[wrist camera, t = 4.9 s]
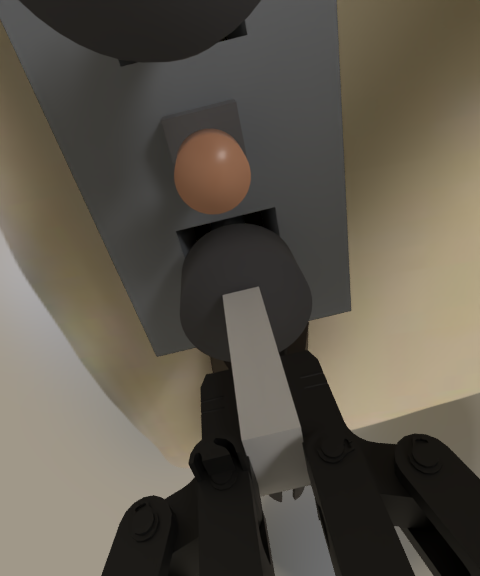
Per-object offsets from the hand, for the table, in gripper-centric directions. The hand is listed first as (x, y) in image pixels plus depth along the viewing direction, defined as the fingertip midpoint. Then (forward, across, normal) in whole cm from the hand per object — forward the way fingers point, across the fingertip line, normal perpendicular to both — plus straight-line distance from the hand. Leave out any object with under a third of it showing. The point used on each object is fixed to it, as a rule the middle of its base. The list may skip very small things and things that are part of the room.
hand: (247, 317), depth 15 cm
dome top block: (+5, 0, +6) cm, 8 cm away
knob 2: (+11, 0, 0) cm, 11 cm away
